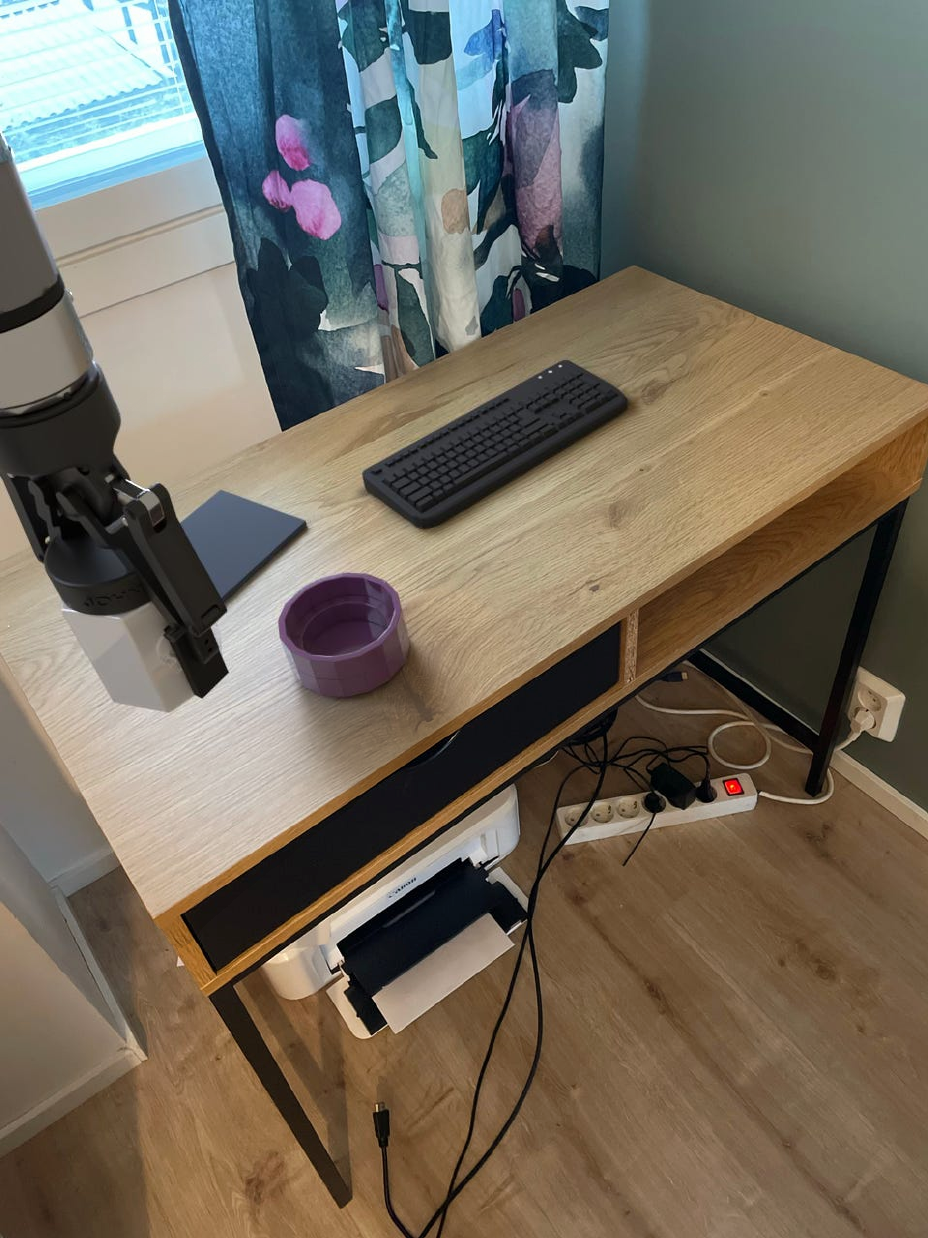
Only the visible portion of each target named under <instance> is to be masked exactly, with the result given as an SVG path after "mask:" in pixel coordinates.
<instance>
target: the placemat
mask: <svg viewBox="0 0 928 1238" xmlns="http://www.w3.org/2000/svg"><path fill="white" fill-rule="evenodd" d="M179 522H180V524H181V526H182V528H183V530H184V531H185V533H186V535H187V537H188V539H189V540H190V542H191V544H192V546H193V548H194V549H195V551H196V553H197V555H198V557H199V559H200V560H201V562H202V564H203V566H204V568H205V569H206V571H207V573H208V575H209V577H210V578H211V580H212V582H213V584H214V586H215V587H216V589H217V591H218V593H219V595H220V596H221V598H222V600H223V602H224V603H225V601H227V600H228V599H229V598H230V597H231V596H232V595H233V594H234V593H235V592H236V591H237V590H239V589H240V588H241V587H242V586H243V585H244V584H245V583H246V582H247V581H249V579H250V578H252V577H253V575H255V574H256V573H257V572H258V571H259V570H260V569H261V568H262V567H264V566H265V565H266V564H267V563H268V562H269V561H270V560H271V559H272V558H273V557H274V556H276V555H277V553H279V552H280V550H282V549H283V548H284V547H285V546H286V545H287V544H289V542H291V541H292V540H293V539H294V538H295V537H296V536H297V535H298V534H299V533H300V532H301V531H302V530H304V529H305V527H307V526H308V525H307V524H308V523H307V521H306V520H305V519H302V518H299V517H297V516H294V515H291V514H288V513H285V512H283V511H280V510H278V509H275V508H272V507H269V506H266V505H264V504H261V503H258V502H255V501H254V500H250V499H247V498H245V497H242V496H239V495H237V494H234V493H231V492H229V491H226V490H223V489H219V490H218V491H217V492H215V493H214V494H213V495H212V496H210V497H209V498H208V499H207V500H206V501H205V502H204V503H202V504H201V505H200V506H199V507H197V508H196V509H195V510H194V511H192V512H191V513H190V514H189V515H187V516H186V517H185V518H183V519H182V520H181V521H179Z"/></svg>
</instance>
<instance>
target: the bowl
mask: <svg viewBox="0 0 928 1238" xmlns="http://www.w3.org/2000/svg"><path fill="white" fill-rule="evenodd" d="M277 625H278V636H279V640H280V642H281V645H282V647H283V651H284V653H285V656H286V658H287V661H288V664H289V667H290V669H291V673H292V674H293V675H294V677H295V678H296V679H297V681H299V683H300V685H302V687H304V688H306V689H308V690H310V691H313V692H315V693H317V694H319V695H321V696H323V697H324V696H327V697H339V698H347V697H348V698H349V697H352V696H356V695H360V694H365V693H369V692H371V691H373V690H375V689H376V688H379V687H380V686H382V685H383V684H385V683H386V682H387V683H388V682H389V681H390V680H391V679H392V678H393V677H394V676H395V675H396V674H397V673H398V672H399V670H400V669H401V668H402V666H403V665H404V664H405V663H406V660H407V656H408V653H409V650H410V646H411V644H410V639H409V634H408V630H407V625H406V621H405V617H404V612H403V608H402V604H401V598H400V594H399V593H398V592H397V590H395V588H393V587H392V586H391V585H390V584H389V582H388V581H386V579H385V580H384V579H383V578H380V577H378V576H375V575H372V574H371V573H366V572H365V573H364V572H349V571H348V572H340V573H334V574H330V575H327V576H322V577H319V578H317V579H316V580H314V581H312V582H309V583H308V584H306V585H304V586H302V587H301V588H300V589H298V591H296V592H295V593H294V594H293V595H292V596H291V597H290V598H289V599H288V600H287V601H286V602H285V603H284V606H283V607H282V610H281V612H280V615H279V617H278V619H277Z"/></svg>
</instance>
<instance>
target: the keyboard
mask: <svg viewBox="0 0 928 1238" xmlns="http://www.w3.org/2000/svg"><path fill="white" fill-rule="evenodd" d="M628 407H629V400H628V398H627V397H626V396H625V394H624V393H623V392H622V391H621V390H620V389H619V388H617V387H616V386H615V385H613V384H612V383H610V382H608V381H606V380H605V379H603V378H601V377H599V376H597V375H595V374H594V373H592V372H590V371H589V370H587V369H585V368H584V367H582V366H580V365H578V364H576V363H575V362H574V361H572V360H570V359H563V360H560V361H558V362H556V363H554V364H553V365H551V366H549V367H547V368H545V369H543V370H541V371H540V372H537V373H536V374H534V375H533V376H531V377H528V378H527V379H525V380H524V381H522V382H520V383H518V384H516V385H515V386H513V387H511V388H509V389H508V390H505V391H504V392H502V393H500V394H499V395H497V396H495V397H493V398H490V400H487V401H485V402H484V403H482V404H480V405H479V406H477V407H475V408H473V409H472V410H469V411H467V412H466V413H464V414H462V415H461V416H459V417H457V418H455V419H454V420H452V421H450V422H448V423H446V424H444V425H443V426H441V427H439V428H437V429H435V430H434V431H431V432H430V433H429V434H426V435H425V436H423V437H421V438H419V439H417V440H416V441H414V442H412V443H410V444H409V445H406V446H405V447H403V448H401V449H400V450H398V451H395V452H394V453H393V454H391V455H388V456H386V457H385V458H383V459H382V460H380V461H378V462H376V463H374V464H372V465H370V466H369V467H367V468H365V469H364V470H363V471H362V473H361V476H362V477H361V478H362V481H363V485H364V489H365V490H366V491H367V492H368V493H370V494H371V495H372V496H374V497H375V498H377V499H378V500H379V501H381V502H382V503H383V504H385V505H386V506H388V507H389V508H390V509H392V510H393V511H394V512H396V513H397V514H398V515H399V516H401V517H402V518H404V519H405V520H406V521H408V522H409V523H411V524H412V525H413V526H415V527H416V528H419V529H422V530H423V529H431V528H434V527H436V526H439V525H441V524H443V523H444V522H446V521H448V520H450V519H452V518H453V517H455V516H456V515H458V514H460V513H462V512H463V511H465V510H466V509H468V508H469V507H471V506H473V505H474V504H476V503H477V502H479V501H481V500H483V499H484V498H486V497H487V496H489V495H491V494H492V493H494V492H496V491H497V490H499V489H500V488H502V487H504V486H505V485H507V484H509V483H510V482H512V481H514V480H516V479H517V478H519V477H520V476H522V475H524V474H525V473H527V472H529V471H530V470H532V469H533V468H535V467H537V466H538V465H540V464H542V463H543V462H545V461H546V460H548V459H550V458H552V457H553V456H555V455H556V454H558V453H560V452H561V451H563V450H564V449H566V448H568V447H570V446H571V445H573V444H574V443H576V442H578V441H579V440H581V439H583V438H585V437H586V436H588V435H589V434H591V433H593V432H594V431H597V430H598V429H599V428H601V427H603V426H604V425H605V424H608V423H609V422H611V421H613V420H614V419H616V418H617V417H619V416H620V415H622V414H624V412H625V411H627V410H628Z"/></svg>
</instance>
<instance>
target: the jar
mask: <svg viewBox="0 0 928 1238" xmlns="http://www.w3.org/2000/svg"><path fill="white" fill-rule="evenodd" d="M123 517H124V515H123V516H122V517H120V518H119V519H118V520H116V521H115V522H114V523H113V524H111V525H110V526H108V527H106V528H105V529H106V530H107V531H108V532H110V531H111V530H112V529H113V528H115V527H116V526H117V525H119V524H120V523H121V522H122V518H123ZM43 565H44V570H45V572H46V574H47V576H48V578H49V580H50V581H51V583H52V585H53V587H54V589H55V590H56V592H57V594H58V595H59V597H60V599H61V605H60V612H61V614H62V616H63V618H64V619H65V621H66V623H67V624H68V626H69V628H70V630H71V631H72V633H73V635H74V636H75V638H76V640H77V642H78V643H79V645H80V647H81V648H82V650H83V652H84V654H85V655H86V657H87V659H88V661H89V662H90V664H91V666H92V667H93V669H94V671H95V673H96V674H97V676H98V677H99V680H100V682H101V684H102V685H103V687H104V688H105V690H106V692H107V693H108V695H109V698H110V699H111V700H112V702H113V703H114V704H119V705H124V706H130V707H135V708H141V709H146V710H151V711H157V712H163V713H167V714H169V713H173V712H174V711H175V710H177V709H178V708H180V707H181V706H182V705H184V704H185V703H187V702H188V701H190V700H191V699H193V698H194V697H195V696H196V695H194V693H193V691H192V689H191V687H190V684H189V682H188V680H187V678H186V676H185V674H184V672H183V670H182V668H181V666H180V663H179V661H178V659H177V657H176V655H175V653H174V651H173V649H172V647H171V645H170V642H169V641H168V640H167V639H166V638H165V637H164V636H163V635H164V634H165V632H164V630H163V629H165V628H166V627H167V626H168V625H169V624H168V622H167V621H166V620H165V619H164V617H163V616H162V615H161V613H160V612H159V611H158V609H157V608H156V607H155V606H154V604H153V603H152V602H151V600H150V599H149V598H148V596H147V595H146V594H145V592H144V590H143V588H142V586H141V584H140V582H139V580H138V577H137V575H136V574H135V573H134V572H132V571H130V570H128V569H126V568H125V566H124V565H123V564H122V563H121V561H120V560H119V559H118V557H117V556H116V555H115V553H114V552H113V551H112V550H111V549H102V548H100V547H99V546H98V545H97V543H96V542H95V541H94V539H93V538H92V537H91V536H90V534H89V533H88V532H87V530H86V529H85V528H84V527H83V525H81V526H80V527H78V528H77V529H76V530H74V531H73V532H72V533H70V534H69V535H68V536H66V537H65V538H63V539H59V538H57V537H55V538H54V539H53V540H52V542H51V543H50V545H49V546H48V548H47V551H46V554H45V558H44V564H43ZM211 629H212V631H213V634H214V637H215V638H216V641H217V643H218V645H219V650H220V652H221V655H222V656H223V647H222V633H221V630H220V628H219V625H218V623H217V622H216V623H215V624H214V625H212V626H211ZM196 697H197V696H196Z"/></svg>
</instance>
